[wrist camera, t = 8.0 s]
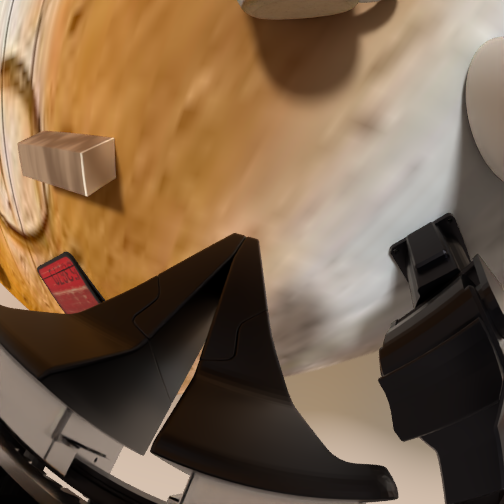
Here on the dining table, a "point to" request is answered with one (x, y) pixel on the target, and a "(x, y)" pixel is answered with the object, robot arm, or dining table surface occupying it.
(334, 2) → the ceramic mug
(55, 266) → the binder
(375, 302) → the dining table surface
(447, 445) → the robot arm
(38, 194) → the dining table surface
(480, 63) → the cylinder vase
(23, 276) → the dining table surface
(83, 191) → the walnut block
